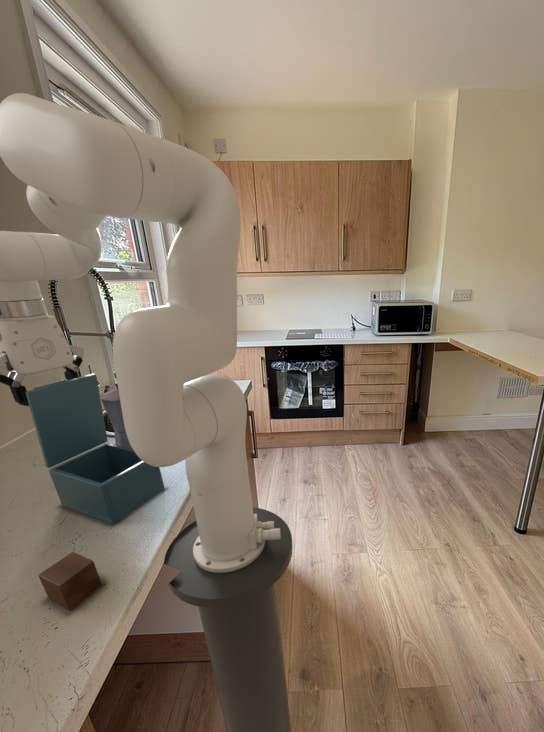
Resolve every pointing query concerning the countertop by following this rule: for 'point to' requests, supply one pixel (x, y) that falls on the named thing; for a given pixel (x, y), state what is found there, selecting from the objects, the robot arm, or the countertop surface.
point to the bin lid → (67, 417)
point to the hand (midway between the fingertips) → (51, 397)
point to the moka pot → (115, 415)
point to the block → (70, 580)
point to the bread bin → (106, 482)
